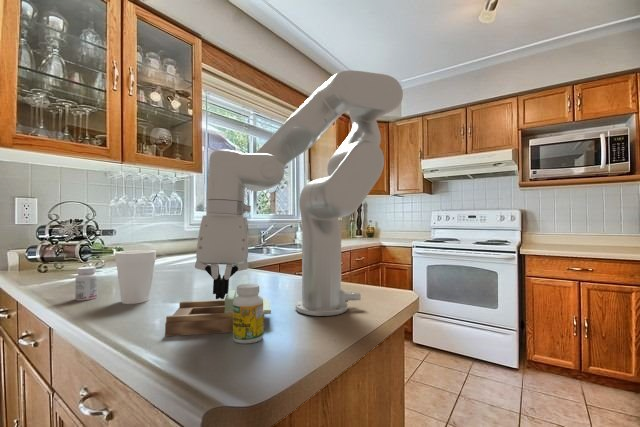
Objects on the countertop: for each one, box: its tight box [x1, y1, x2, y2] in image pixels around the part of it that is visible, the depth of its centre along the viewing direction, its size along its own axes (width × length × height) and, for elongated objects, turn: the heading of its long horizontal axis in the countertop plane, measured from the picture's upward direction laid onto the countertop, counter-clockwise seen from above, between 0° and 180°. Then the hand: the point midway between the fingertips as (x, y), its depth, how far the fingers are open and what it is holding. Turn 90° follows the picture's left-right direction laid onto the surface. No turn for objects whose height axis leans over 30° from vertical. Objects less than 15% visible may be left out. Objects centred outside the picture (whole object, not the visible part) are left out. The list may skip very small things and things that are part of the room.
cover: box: [224, 289, 272, 315], centre depth 66 cm, size 9×9×3 cm
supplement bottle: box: [232, 283, 264, 345], centre depth 56 cm, size 5×5×10 cm
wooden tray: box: [164, 297, 265, 337], centre depth 65 cm, size 18×12×3 cm, turn 102°
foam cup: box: [114, 249, 157, 305], centre depth 83 cm, size 10×9×13 cm
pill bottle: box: [74, 266, 98, 301], centre depth 85 cm, size 5×5×8 cm
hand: (220, 297), depth 65 cm, fingers closed
